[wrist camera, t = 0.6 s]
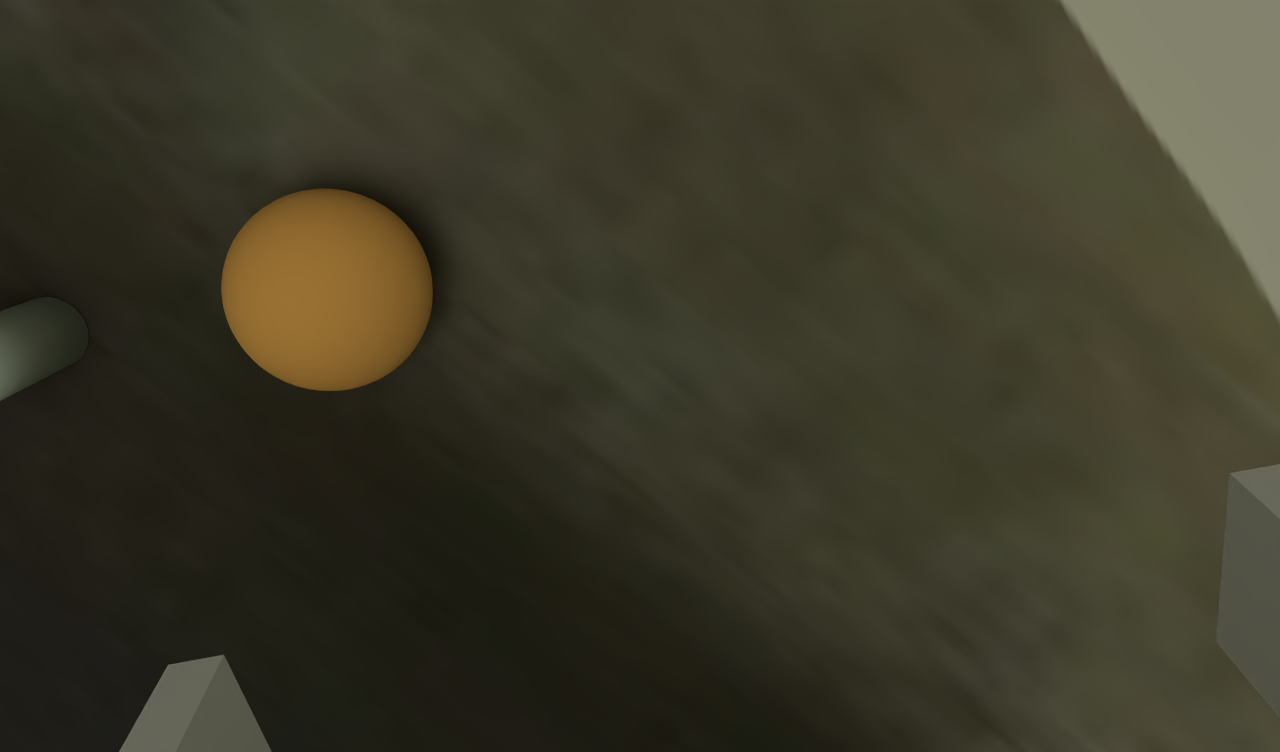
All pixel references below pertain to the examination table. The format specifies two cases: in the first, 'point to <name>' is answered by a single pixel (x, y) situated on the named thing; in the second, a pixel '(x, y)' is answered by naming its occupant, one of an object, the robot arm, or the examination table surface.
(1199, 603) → the examination table surface
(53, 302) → the pin
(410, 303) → the ball
